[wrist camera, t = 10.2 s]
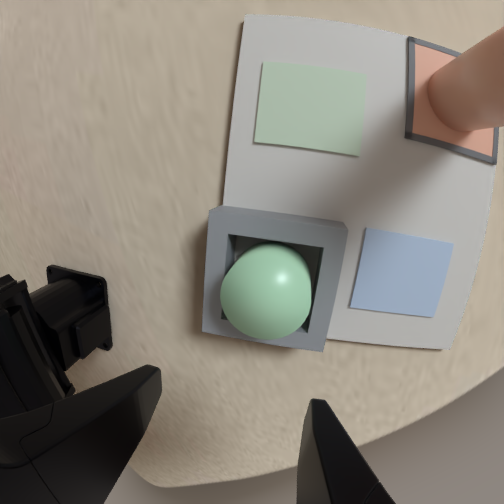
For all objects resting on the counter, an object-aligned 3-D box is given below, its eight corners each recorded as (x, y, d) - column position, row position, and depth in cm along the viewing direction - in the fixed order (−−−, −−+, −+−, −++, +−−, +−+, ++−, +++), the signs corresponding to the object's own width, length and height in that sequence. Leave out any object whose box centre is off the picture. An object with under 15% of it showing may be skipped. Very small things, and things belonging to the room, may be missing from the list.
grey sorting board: (215, 315, 21) (201, 337, 18) (245, 18, 16) (235, -4, 13) (447, 345, 19) (461, 367, 16) (492, 71, 14) (514, 60, 11)
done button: (230, 307, 19) (217, 331, 16) (237, 235, 18) (223, 249, 15) (303, 319, 18) (302, 345, 15) (316, 247, 17) (318, 263, 14)
